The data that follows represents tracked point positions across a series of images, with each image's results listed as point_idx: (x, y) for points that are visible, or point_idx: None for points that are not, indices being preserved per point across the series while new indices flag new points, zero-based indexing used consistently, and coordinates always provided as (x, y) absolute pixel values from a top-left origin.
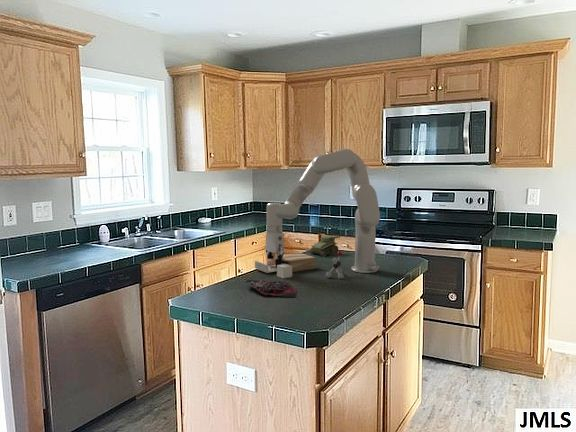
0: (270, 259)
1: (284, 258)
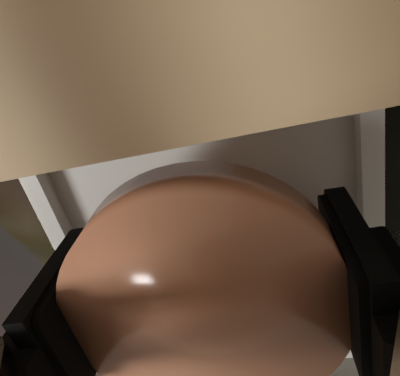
0: (187, 372)
1: (176, 102)
